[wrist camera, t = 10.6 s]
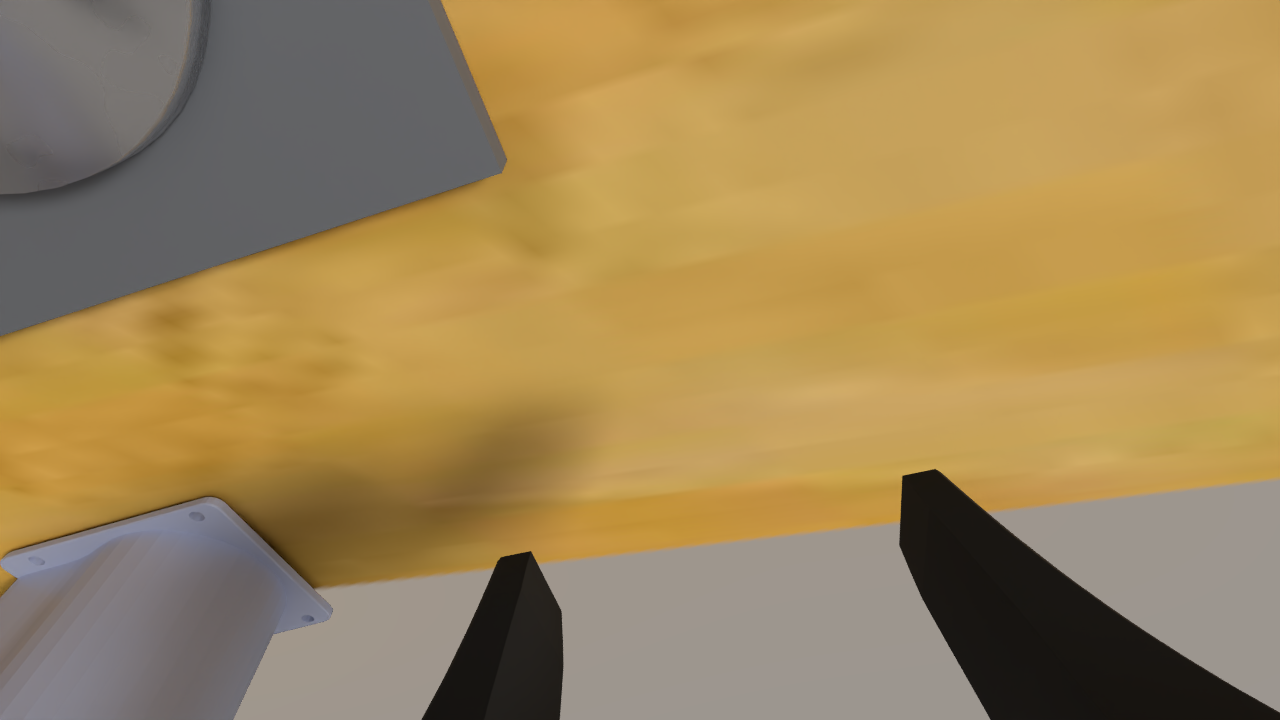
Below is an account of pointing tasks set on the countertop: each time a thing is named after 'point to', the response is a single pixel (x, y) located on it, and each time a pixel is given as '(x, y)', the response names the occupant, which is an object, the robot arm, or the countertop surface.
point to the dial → (91, 83)
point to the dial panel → (259, 153)
